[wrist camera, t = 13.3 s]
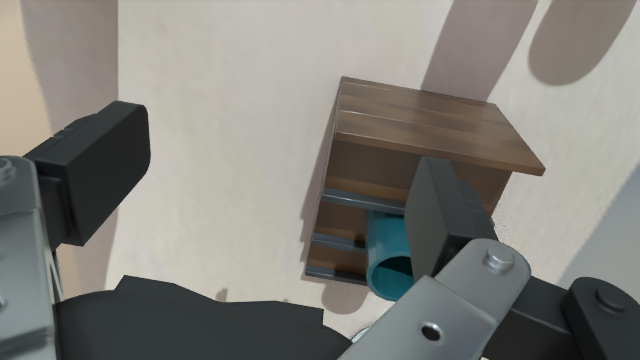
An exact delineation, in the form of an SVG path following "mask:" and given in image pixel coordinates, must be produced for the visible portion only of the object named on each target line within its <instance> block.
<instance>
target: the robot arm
mask: <svg viewBox="0 0 640 360" xmlns="http://www.w3.org/2000/svg"><path fill="white" fill-rule="evenodd" d="M150 157H151V152H150V138H149V124H148V113H147V109H146V107H145V106H144V105H140V104H134V103H128V102H123V101H114V102H112V103H111V104H109V105H108V106H107V107H105V108H104V109H102V110H101V111H99V112H98V113H97V114H92V115H89V116H86V117H83V118H80V119H77V120H75V121H74V122H72V123H71V124H69V125H68V126H66V127H65V128H64V130H61V131H59V132H58V133H56V134H55V135H54V137H50V138H49V139H47V140H46V141H44V142H43V143H41V144H40V145H39V146H37V147H36V148H34V149H33V150H31V151H30V152H28V153H27V154H25V155H24V156H22V157H19V156H0V360H481V358H482V357H484V358H487V359H489V360H640V305H639V304H638V303H637V302H636V301H635V300H634V299H633V298H632V297H631V296H629V295H628V294H627V293H625V292H624V291H622V290H621V289H619V288H618V287H616V286H614V285H612V284H610V283H608V282H606V281H603V280H600V279H596V278H591V277H580V278H577V279H576V280H575V281H574V282H573V283H572V285H571V286H570V288H569V289H568V290H566V289H563V288H561V287H558V286H556V285H553V284H551V283H548V282H545V281H543V280H540V279H538V278H536V277H534V276H532V275H531V268H530V265H529V263H528V262H527V260H526V259H525V258H524V257H523V256H522V255H521V254H520V253H519V252H517V251H516V250H515V249H513V248H512V247H510V246H508V245H506V244H504V243H502V242H499V240H498V237H497V235H496V233H495V231H494V229H493V226H492V224H491V222H490V220H489V218H488V215H487V214H486V211H485V209H484V207H483V205H481V203H482V202H481V200H480V198H479V196H478V193H477V191H476V190H475V189H474V188H473V187H472V186H471V185H470V184H468V183H467V182H466V181H465V180H462V179H457V176H456V174H455V171H454V169H453V166H452V164H451V162H450V160H445V159H439V158H434V157H428V156H423V157H422V158H421V160H420V163H419V165H418V168H417V171H416V174H415V177H414V180H413V183H412V186H411V189H410V192H409V195H408V199H407V202H406V206H405V214H404V220H405V227H406V233H407V239H408V245H409V252H410V258H411V264H412V270H413V276H414V283H415V284H414V285H413V286H412V287H411V288H410V289H409V290H408V291H407V292H406V293H405V294H404V295H403V296H402V297H401V298H400V299H399V300H398V301H397V302H396V303H395V304H394V305H393V306H392V307H391V308H390V309H389V310H388V311H387V312H385V313H384V314H383V315H382V316H381V317H380V318H379V319H378V320H377V321H376V322H375V323H374V324H373V325H372V326H371V327H370V328H369V329H368V330H367V331H366V332H365V333H364V334H363V335H362V336H361V337H360V338H359V339H358V340H357V341H356V342H355V343H353V342H352V341H351V340H349V339H348V338H346V337H345V336H343V335H342V334H340V333H338V332H337V331H335V330H333V329H331V328H329V327H327V326H324V325H322V324H323V313H324V309H321V308H315V307H309V306H303V305H297V304H291V303H286V302H280V301H254V302H227V303H226V302H218V301H215V300H213V299H210V298H208V297H206V296H203V295H201V294H198V293H196V292H193V291H191V290H189V289H186V288H184V287H181V286H179V285H176V284H174V283H169V282H163V281H157V280H151V279H145V278H139V277H134V276H128V275H124V276H123V278H122V279H121V281H120V282H119V284H118V285H117V287H116V288H115V290H106V291H99V292H92V293H88V294H83V295H79V296H76V297H73V298H69V299H66V300H65V297H64V291H63V285H62V279H61V273H60V267H59V261H58V256H57V252H56V248H57V247H58V246H59V245H60V244H61V243H64V244H70V245H75V246H81V247H83V246H84V245H85V243H86V242H87V241H88V240H89V239H90V238H91V236H92V235H93V234H94V233H95V232H96V231H97V230H98V228H99V227H100V226H101V225H102V224H103V223H104V221H105V220H106V219H107V218H108V217H109V216H110V214H111V213H112V212H113V211H114V210H115V209H116V208H117V206H118V205H119V204H120V203H121V202H122V201H123V199H124V198H125V197H126V196H127V195H128V194H129V193H130V191H131V190H132V189H133V188H134V187H135V186H136V184H137V183H138V182H139V181H140V180H141V179H142V177H143V176H144V175H145V174H146V172H147V170H148V167H149V164H150Z"/></svg>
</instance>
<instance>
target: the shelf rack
mask: <svg viewBox="0 0 640 360" xmlns="http://www.w3.org/2000/svg"><path fill="white" fill-rule="evenodd" d="M423 156H428V157H434V158H439V159H445V160H450V162H451V164H452V166H453V169H454V171H455V174H456V176H457V179H462V180H465V181H466V182H467V183H468V184H470V185H471V186H472V187H473V188H474V189H475V190H476V191H477V193H478V196H479V198H480V200H481V202H482V203H481V205H483V207H484V209H485V211H486V214H487V215H488V218H489V220H490V222H491V224H492V226H493V228H494V226H495V224H494V222H493V220H492V218H491V216H492V214H493V212H494V209H495V207H496V205H497V203H498V201H499V199H500V197H501V195H502V193H503V191H504V188H505V186H506V184H507V182H508V180H509V178H510V176H511V174H512V172H513V171H514V172H519V173H525V174H531V175H536V176H542V175H543V173H544V172H545V170H546V168H545V167H544V166H543V164H542V163H541V162H540V160H539V159H538V158H537V157H536V155H535V154H534V153H533V152H532V150H531V149H530V148H529V146H528V145H527V144H526V143H525V141H524V140H523V139H522V138H521V136H520V135H519V134H518V132H517V131H516V130H515V129H514V127H513V126H512V125H511V124H510V122H509V121H508V120H507V119H506V117H505V116H504V115H503V113H502V112H501V111H500V109H499V108H498V107H497V106H496V104H492V103H487V102H481V101H476V100H470V99H465V98H459V97H454V96H448V95H442V94H437V93H431V92H426V91H420V90H415V89H409V88H404V87H398V86H393V85H387V84H382V83H376V82H371V81H365V80H359V79H354V78H348V77H343V76H342V78H341V83H340V89H339V94H338V99H337V105H336V110H335V115H334V120H333V126H332V131H331V136H330V141H329V147H328V152H327V157H326V162H325V168H324V173H323V178H322V183H321V189H320V194H319V199H318V205H317V210H316V215H315V220H314V226H313V231H312V236H311V241H310V247H309V252H308V257H307V263H306V270H305V275H306V276H312V277H318V278H324V279H329V280H335V281H341V282H347V283H352V284H358V285H364V286H368V283H367V279H366V247H365V215H366V211H367V209H370V210H376V211H381V212H387V213H393V214H398V215H404V214H405V206H406V202H407V199H408V195H409V192H410V189H411V186H412V183H413V180H414V177H415V174H416V171H417V168H418V165H419V163H420V160H421V158H422V157H423Z"/></svg>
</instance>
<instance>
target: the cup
mask: <svg viewBox="0 0 640 360" xmlns="http://www.w3.org/2000/svg"><path fill="white" fill-rule="evenodd" d="M365 247H366V279H367V283H368V286H369V288H370V289H371V290H372V291H373V292H374V294H375V295H377V296H379V297H381V298H383V299H385V300H388V301H394V302H397V301H398V300H399V299H400V298H401V297H402V296H403V295H404V294H405V293H406V292H407V291H408V290H409V289H410V288H411V287H412V286H413V285H414V284H415V283H414V276H413V270H412V264H411V258H410V252H409V245H408V239H407V233H406V227H405V220H404V215H398V214H393V213H387V212H381V211H376V210H370V209H367V211H366V215H365Z"/></svg>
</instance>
